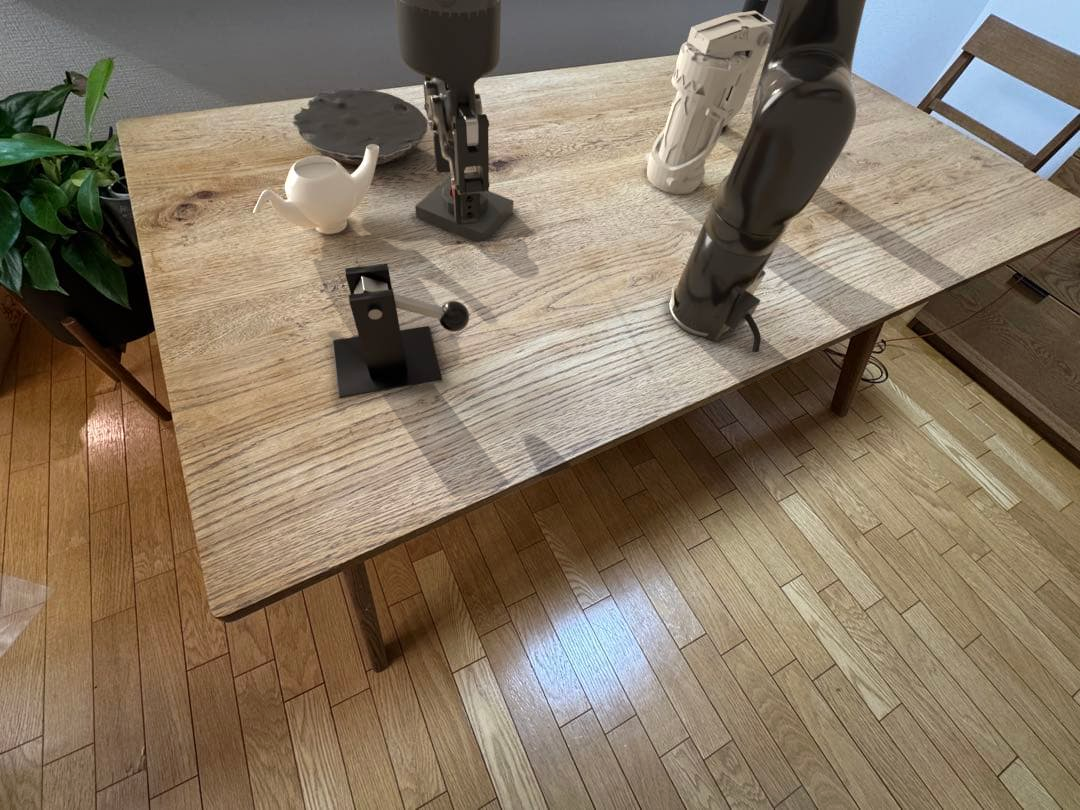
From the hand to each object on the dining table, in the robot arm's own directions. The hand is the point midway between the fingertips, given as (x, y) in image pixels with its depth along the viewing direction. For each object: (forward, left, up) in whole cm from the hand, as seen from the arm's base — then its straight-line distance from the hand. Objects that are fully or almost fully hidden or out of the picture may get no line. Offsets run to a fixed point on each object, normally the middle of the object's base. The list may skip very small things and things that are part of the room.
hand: (456, 194), depth 49 cm
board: (+46, -16, -22) cm, 54 cm away
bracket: (+3, +9, -22) cm, 24 cm away
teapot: (+31, 0, -22) cm, 38 cm away
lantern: (+7, -57, -22) cm, 62 cm away
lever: (+2, +6, -14) cm, 16 cm away
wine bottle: (+15, -79, -22) cm, 83 cm away
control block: (+21, -18, -22) cm, 35 cm away
